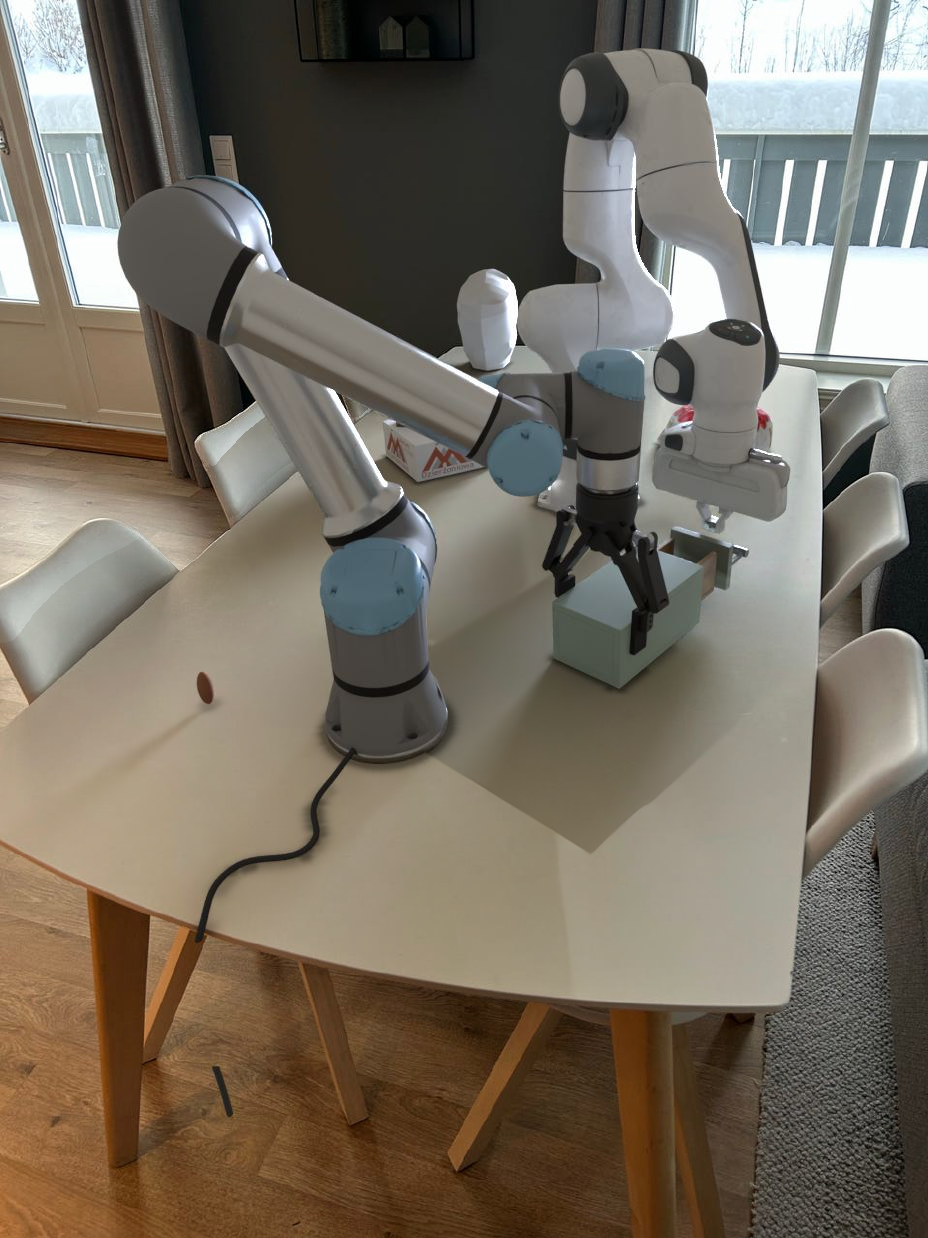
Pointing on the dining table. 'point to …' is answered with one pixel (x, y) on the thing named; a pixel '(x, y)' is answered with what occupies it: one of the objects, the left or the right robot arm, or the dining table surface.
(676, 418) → the cake
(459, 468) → the white red logo box
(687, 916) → the dining table surface
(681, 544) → the drawer
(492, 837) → the dining table surface
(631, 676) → the cabinet
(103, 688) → the dining table surface
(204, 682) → the brown oval piece
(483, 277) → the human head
